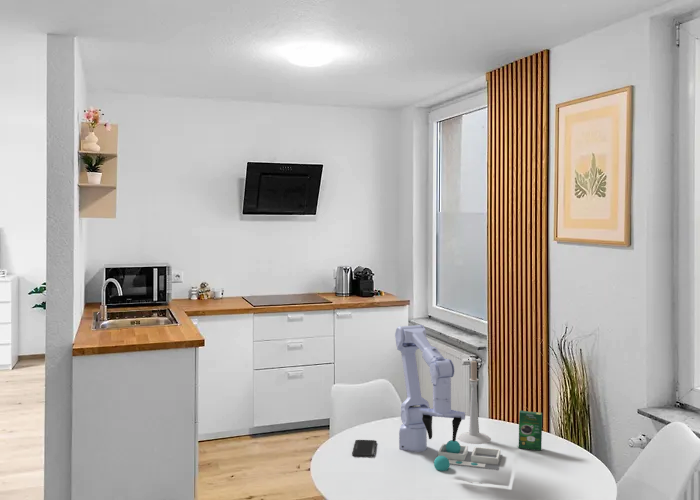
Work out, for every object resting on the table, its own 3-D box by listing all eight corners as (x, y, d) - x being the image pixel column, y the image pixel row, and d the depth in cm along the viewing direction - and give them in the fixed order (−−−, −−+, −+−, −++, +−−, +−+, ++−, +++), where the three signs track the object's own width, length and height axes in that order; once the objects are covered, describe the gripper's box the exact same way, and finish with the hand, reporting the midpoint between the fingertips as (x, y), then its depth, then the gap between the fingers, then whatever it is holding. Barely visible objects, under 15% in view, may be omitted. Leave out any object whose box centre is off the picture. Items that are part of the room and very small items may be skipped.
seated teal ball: (444, 456, 212) (444, 442, 212) (447, 451, 217) (447, 437, 217) (459, 458, 210) (459, 443, 210) (461, 453, 215) (461, 438, 215)
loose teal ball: (432, 473, 200) (432, 458, 200) (435, 467, 205) (435, 452, 205) (448, 475, 199) (448, 459, 199) (450, 469, 203) (450, 454, 203)
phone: (376, 440, 230) (374, 454, 215) (376, 443, 230) (374, 458, 215) (355, 439, 231) (351, 454, 216) (355, 442, 231) (351, 457, 216)
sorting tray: (433, 465, 207) (433, 456, 207) (441, 451, 220) (441, 442, 220) (498, 473, 200) (498, 463, 200) (502, 457, 213) (502, 449, 213)
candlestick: (496, 439, 232) (496, 358, 231) (484, 449, 221) (484, 365, 220) (464, 433, 239) (464, 355, 238) (451, 443, 228) (450, 361, 227)
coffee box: (542, 448, 222) (542, 411, 221) (542, 451, 219) (542, 414, 219) (518, 446, 224) (518, 409, 224) (518, 448, 222) (518, 412, 221)
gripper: (417, 399, 200) (417, 441, 200) (462, 402, 195) (463, 445, 196) (421, 393, 206) (422, 434, 207) (466, 396, 202) (466, 438, 202)
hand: (442, 439), depth 202 cm, fingers open, 7 cm apart
